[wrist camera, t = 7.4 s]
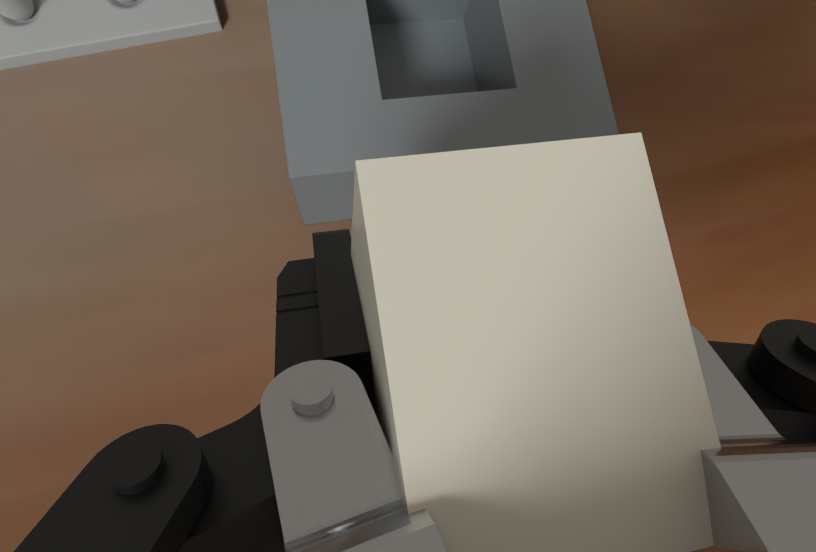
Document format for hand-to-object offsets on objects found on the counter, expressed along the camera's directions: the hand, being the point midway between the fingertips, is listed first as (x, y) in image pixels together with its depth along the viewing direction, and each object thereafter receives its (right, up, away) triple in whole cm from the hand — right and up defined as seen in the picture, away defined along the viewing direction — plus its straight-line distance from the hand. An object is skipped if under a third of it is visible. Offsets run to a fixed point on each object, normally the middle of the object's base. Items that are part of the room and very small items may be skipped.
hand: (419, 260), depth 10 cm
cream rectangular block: (-1, -3, +7) cm, 8 cm away
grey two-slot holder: (-1, +12, +14) cm, 19 cm away
